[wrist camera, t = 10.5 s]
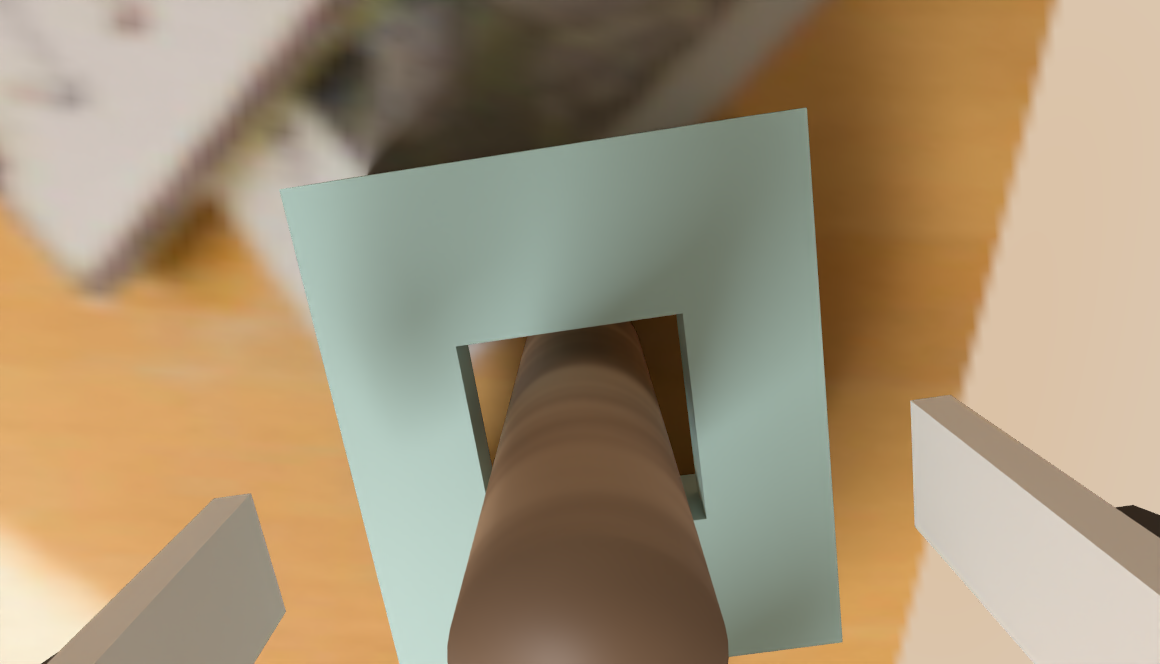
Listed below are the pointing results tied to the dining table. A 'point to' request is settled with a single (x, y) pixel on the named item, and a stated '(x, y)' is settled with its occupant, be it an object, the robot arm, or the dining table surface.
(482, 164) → the bridge
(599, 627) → the pin long
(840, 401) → the dining table surface
